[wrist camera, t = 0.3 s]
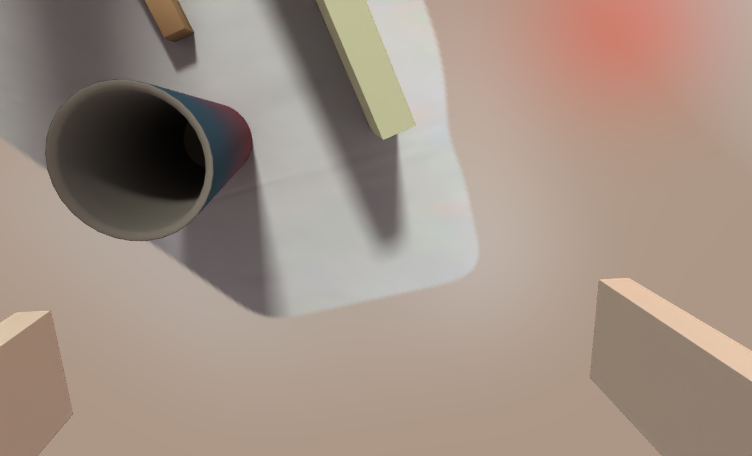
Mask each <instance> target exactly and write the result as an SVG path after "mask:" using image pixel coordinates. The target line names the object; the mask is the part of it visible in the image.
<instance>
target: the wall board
mask: <svg viewBox="0 0 752 456" xmlns="http://www.w3.org/2000/svg"><path fill="white" fill-rule="evenodd" d="M316 2H317V5H318V7H319V9H320V12H321V14H322V16H323V19H324V21H325V23H326V26H327V28H328V30H329V33H330V35H331V37H332V40H333V42H334V44H335V47H336V49H337V51H338V54H339V56H340V58H341V61H342V63H343V65H344V68H345V70H346V72H347V75H348V77H349V79H350V82H351V84H352V87H353V89H354V91H355V94H356V96H357V98H358V101H359V103H360V105H361V108H362V110H363V112H364V115H365V117H366V119H367V122H368V124H369V126H370V129H371V131H372V132H373V133H374V134H376V135H377V136H378V137H380V138H381V139H382V140H384V139H387V138H389V137H391V136H393V135H396V134H398V133H400V132H402V131H405V130H407V129H409V128H411V127H414V126H416V124H415V122H414V119H413V117H412V114H411V112H410V109H409V107H408V104H407V102H406V99H405V97H404V94H403V92H402V89H401V87H400V84H399V82H398V79H397V77H396V74H395V72H394V69H393V67H392V64H391V62H390V59H389V57H388V54H387V52H386V49H385V47H384V44H383V42H382V39H381V37H380V34H379V32H378V29H377V27H376V24H375V22H374V19H373V17H372V14H371V12H370V9H369V7H368V4H367V2H366V0H316Z"/></svg>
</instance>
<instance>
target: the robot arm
mask: <svg viewBox="0 0 752 456" xmlns="http://www.w3.org/2000/svg"><path fill="white" fill-rule="evenodd" d="M590 379H591V380H592V381H593V382H594V383H595V384H596V385H597V386H598V387H599V388H600V389H601V390H602V391H603V393H604V394H605V395H606V396H607V397H608V398H609V399H610V400H611V401H612V402H613V403H614V404H615V406H616V407H617V408H618V409H619V410H620V411H621V412H622V413H623V414H624V415H625V416H626V417H627V419H628V420H629V421H630V422H631V423H632V424H633V425H634V426H635V427H636V428H637V429H638V430H639V431H640V433H641V434H642V435H643V436H644V437H645V438H646V439H647V440H648V441H649V442H650V443H651V444H652V446H653V447H655V449H656V450H657V451H658V452H659V453H660V454H661V455H662V456H752V351H751V350H749V349H747V348H746V347H744V346H742V345H741V344H739V343H737V342H736V341H734V340H732V339H731V338H729V337H727V336H725V335H724V334H722V333H720V332H719V331H717V330H715V329H714V328H712V327H710V326H709V325H707V324H705V323H704V322H701V321H700V320H698V319H697V318H695V317H693V316H692V315H690V314H688V313H687V312H685V311H683V310H682V309H680V308H678V307H677V306H675V305H673V304H672V303H670V302H668V301H666V300H665V299H663V298H661V297H660V296H658V295H656V294H655V293H653V292H651V291H649V290H648V289H646V288H645V287H643V286H641V285H639V284H638V283H636V282H634V281H633V280H631V279H629V278H617V279H601V280H599V284H598V295H597V305H596V317H595V327H594V338H593V348H592V360H591V370H590ZM72 415H73V412H72V408H71V403H70V398H69V394H68V389H67V384H66V380H65V375H64V370H63V366H62V361H61V356H60V352H59V347H58V342H57V337H56V333H55V328H54V323H53V319H52V314H51V311H50V310H49V311H30V312H16V313H14V314H13V315H11V316H10V317H8V318H7V319H5V320H3V321H2V322H0V456H38V455H39V453H40V452H41V451H42V450H43V449H44V448H45V446H46V445H47V444H48V443H49V442H50V440H51V439H52V438H53V437H54V436H55V435H56V433H57V432H58V431H59V430H60V429H61V428H62V426H63V425H64V424H65V423H66V422H67V421H68V419H69V418H70V417H71V416H72Z"/></svg>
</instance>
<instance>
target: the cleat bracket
mask: <svg viewBox="0 0 752 456" xmlns="http://www.w3.org/2000/svg"><path fill="white" fill-rule="evenodd" d="M145 2H146V4H147V6H148V8H149V10H150V12H151V14H152V15H153V17H154V19H155V21H156V23H157V25H158V27H159V29H160V31H161V33H162V35H163V37H164V38H166V39H169V40H171V41H177V40H179V39H181V38H183V37H185V36H187V35H190V34H192V33H194V32H193V30H192V28H191V26H190V24H189V22H188V20H187V18H186V16H185V14H184V12H183V10H182V8H181V6H180V4H179V2H178V0H145Z"/></svg>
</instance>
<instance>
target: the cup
mask: <svg viewBox="0 0 752 456" xmlns="http://www.w3.org/2000/svg"><path fill="white" fill-rule="evenodd" d="M251 147H252V136H251V132H250V129H249V126H248V124H247V122H246V121H245V120H244V118H243V117H242V116H241V115H240V114H239V113H238V112H236V111H235V110H234V109H232V108H230V107H228V106H225V105H222V104H218V103H215V102H211V101H208V100H204V99H200V98H197V97H193V96H190V95H186V94H183V93H179V92H176V91H172V90H169V89H165V88H161V87H158V86H154V85H151V84H147V83H143V82H138V81H134V80H117V79H114V80H108V81H102V82H97V83H95V84H92V85H90V86H87V87H85V88H82V89H81V90H80V91H78V92H77V93H75V94H74V95H72V96H71V97H69V98H68V100H67V101H66V102H65V103H64V104H63V105H62V106H61V107H60V108H59V109H58V111H57V113H56V115H55V117H54V118H53V120H52V122H51V124H50V128H49V131H48V134H47V138H46V151H45V155H46V162H47V170H48V173H49V176H50V179H51V181H52V184H53V186H54V188H55V190H56V192H57V194H58V195H59V197H60V199H61V200H62V202H63V203H64V204H65V205H66V206H67V207H68V209H69V210H70V211H71V212H72V213H73V214H74V215H75V216H76V217H78V218H79V219H80V220H81V221H82V222H84V223H85V224H86V225H88V226H90V227H91V228H93V229H95V230H97V231H98V232H101V233H103V234H106V235H109V236H111V237H114V238H118V239H124V240H130V241H148V240H154V239H159V238H163V237H166V236H168V235H171V234H173V233H176V232H177V231H179V230H180V229H182V228H183V227H185V226H187V225H188V224H189V223H190V222H191V221H192V220H193V219H194V218H195V217H196V216H197V215H198V214H199V213H200V212H201V211H202V210H203V208H204V207H205V206H206V205H207V204H208V203H209V202H210V201H211V199H212V198H213V197H214V196H215V195H216V194H217V193H218V192H219V191H220V189H221V188H222V187H223V186H224V185H225V184H226V183H227V182H228V180H229V179H230V178H231V177H232V176H233V175H234V174H235V173H236V172H237V170H238V169H239V168H240V167H241V166H242V165H243V164H244V163H245V161H246V160H247V158H248V157H249V154H250V151H251Z"/></svg>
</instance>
